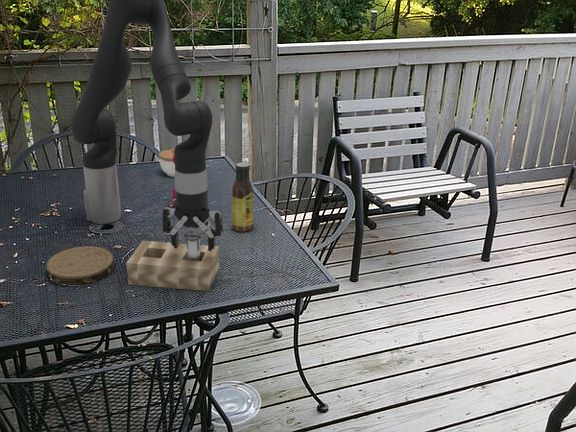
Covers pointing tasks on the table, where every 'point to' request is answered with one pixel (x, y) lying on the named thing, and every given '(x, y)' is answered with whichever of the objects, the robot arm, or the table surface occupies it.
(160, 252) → the hole block
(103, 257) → the cork coaster
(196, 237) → the clevis pin
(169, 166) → the lidded jar
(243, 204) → the sauce bottle
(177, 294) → the table surface
